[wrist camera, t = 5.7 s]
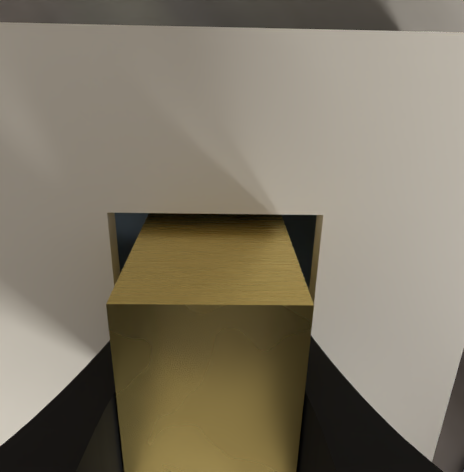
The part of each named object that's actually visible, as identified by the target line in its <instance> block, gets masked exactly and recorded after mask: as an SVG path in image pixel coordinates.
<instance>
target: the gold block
mask: <svg viewBox="0 0 464 472" xmlns="http://www.w3.org/2000/svg"><path fill="white" fill-rule="evenodd" d="M106 309H107V318H108V327H109V336H110V345H111V354H112V363H113V372H114V381H115V391H116V400H117V409H118V418H119V427H120V436H121V445H122V454H123V464H124V472H296V469H297V460H298V451H299V441H300V432H301V423H302V413H303V404H304V395H305V385H306V376H307V367H308V358H309V348H310V339H311V330H312V320H313V311H314V304H313V301H312V298H311V295H310V293H309V290H308V287H307V284H306V282H305V279H304V276H303V273H302V271H301V268H300V265H299V262H298V259H297V257H296V254H295V251H294V248H293V246H292V243H291V240H290V237H289V235H288V232H287V229H286V226H285V224H284V221H283V218H282V215H279V214H191V213H149V214H148V216H147V218H146V220H145V222H144V224H143V227H142V229H141V231H140V233H139V235H138V237H137V239H136V241H135V244H134V246H133V248H132V250H131V252H130V254H129V256H128V258H127V261H126V263H125V265H124V267H123V269H122V271H121V273H120V275H119V278H118V280H117V282H116V284H115V286H114V288H113V290H112V292H111V295H110V297H109V299H108V301H107V303H106Z"/></svg>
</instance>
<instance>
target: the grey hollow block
mask: <svg viewBox="0 0 464 472" xmlns="http://www.w3.org/2000/svg"><path fill="white" fill-rule="evenodd" d="M149 213H191V214H279V215H282V218H283V221H284V224H285V226H286V229H287V232H288V235H289V237H290V240H291V243H292V246H293V248H294V251H295V254H296V257H297V259H298V262H299V265H300V268H301V271H302V273H303V276H304V279H305V282H306V284H307V287H308V290H309V293H310V295H311V298H312V301H313V304H314V311H313V320H312V330H311V336H312V337H313V338H314V340H315V341H316V342H317V344H318V345H319V346H320V347H321V349H322V350H323V351H324V352H325V354H326V355H327V356H328V357H329V359H330V360H331V361H332V362H333V364H334V365H335V366H336V367H337V368H338V370H339V371H340V372H341V373H342V374H343V375H344V377H345V378H346V379H347V380H348V381H349V382H350V383H351V384H352V386H353V387H354V388H355V389H356V390H357V391H358V392H359V393H360V395H361V396H362V397H363V398H364V399H365V400H366V401H367V402H368V403H369V404H370V405H371V406H372V407H373V408H374V409H375V410H376V411H377V412H378V413H379V414H380V415H381V416H382V417H383V418H384V419H385V420H386V421H387V422H388V424H390V425H391V426H392V427H393V428H394V429H395V430H396V431H397V432H398V433H399V434H400V435H401V436H402V437H403V438H404V439H406V440H407V441H408V442H409V443H410V444H411V445H412V446H414V447H415V448H416V449H417V450H418V451H419V452H420V453H422V454H423V455H424V456H425V457H426V458H427V459H429V460H430V461H431V462H432V460H433V457H434V453H435V450H436V446H437V442H438V439H439V435H440V432H441V428H442V424H443V421H444V417H445V414H446V410H447V406H448V403H449V399H450V395H451V392H452V388H453V385H454V381H455V377H456V374H457V370H458V367H459V363H460V359H461V356H462V352H463V349H464V32H422V31H376V30H331V29H285V28H239V27H194V26H148V25H103V24H57V23H11V22H0V446H1V445H2V444H3V443H5V442H6V441H7V440H8V439H9V438H11V437H12V436H13V435H14V434H15V433H16V432H18V431H19V430H20V429H21V428H22V427H23V426H25V425H26V424H27V423H28V422H29V421H30V420H31V419H32V418H33V417H35V416H36V415H37V414H38V413H39V412H40V411H41V410H42V409H43V408H44V407H45V406H46V405H47V404H48V403H50V402H51V401H52V400H53V399H54V398H55V397H56V396H57V395H58V394H59V393H60V392H61V391H62V390H63V389H64V388H65V387H66V386H67V385H68V384H69V383H70V382H71V381H72V380H73V379H74V378H75V377H76V376H77V375H78V374H79V373H80V372H81V371H82V370H83V369H84V368H85V367H86V366H87V365H88V363H89V362H90V361H91V360H92V359H93V358H94V357H95V356H96V355H97V354H98V353H99V351H100V350H101V349H102V348H103V347H104V346H105V345H106V344H107V343H108V341H109V340H110V336H109V327H108V318H107V309H106V303H107V301H108V299H109V297H110V295H111V292H112V290H113V288H114V286H115V284H116V282H117V280H118V278H119V275H120V273H121V271H122V269H123V267H124V265H125V263H126V261H127V258H128V256H129V254H130V252H131V250H132V248H133V246H134V244H135V241H136V239H137V237H138V235H139V233H140V231H141V229H142V227H143V224H144V222H145V220H146V218H147V216H148V214H149Z"/></svg>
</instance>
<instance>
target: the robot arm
mask: <svg viewBox="0 0 464 472" xmlns="http://www.w3.org/2000/svg"><path fill="white" fill-rule="evenodd" d="M0 472H124V464H123V454H122V445H121V436H120V427H119V418H118V409H117V400H116V391H115V381H114V372H113V363H112V354H111V345H110V340H109V341H108V343H107V344H106V345H105V346H104V347H103V348H102V349H101V350H100V351H99V353H98V354H97V355H96V356H95V357H94V358H93V359H92V360H91V361H90V362H89V363H88V365H87V366H86V367H85V368H84V369H83V370H82V371H81V372H80V373H79V374H78V375H77V376H76V377H75V378H74V379H73V380H72V381H71V382H70V383H69V384H68V385H67V386H66V387H65V388H64V389H63V390H62V391H61V392H60V393H59V394H58V395H57V396H56V397H55V398H54V399H53V400H52V401H51V402H50V403H48V404H47V405H46V406H45V407H44V408H43V409H42V410H41V411H40V412H39V413H38V414H37V415H36V416H35V417H33V418H32V419H31V420H30V421H29V422H28V423H27V424H26V425H25V426H23V427H22V428H21V429H20V430H19V431H18V432H16V433H15V434H14V435H13V436H12V437H11V438H9V439H8V440H7V441H6V442H5V443H3V444H2V445H1V446H0ZM296 472H443V471H442V470H441V469H439V468H438V467H437V466H436V465H434V464H433V463H432V462H431V461H430V460H429V459H427V458H426V457H425V456H424V455H423V454H422V453H420V452H419V451H418V450H417V449H416V448H415V447H414V446H412V445H411V444H410V443H409V442H408V441H407V440H406V439H404V438H403V437H402V436H401V435H400V434H399V433H398V432H397V431H396V430H395V429H394V428H393V427H392V426H391V425H390V424H388V422H387V421H386V420H385V419H384V418H383V417H382V416H381V415H380V414H379V413H378V412H377V411H376V410H375V409H374V408H373V407H372V406H371V405H370V404H369V403H368V402H367V401H366V400H365V399H364V398H363V397H362V396H361V395H360V393H359V392H358V391H357V390H356V389H355V388H354V387H353V386H352V384H351V383H350V382H349V381H348V380H347V379H346V378H345V377H344V375H343V374H342V373H341V372H340V371H339V370H338V368H337V367H336V366H335V365H334V364H333V362H332V361H331V360H330V359H329V357H328V356H327V355H326V354H325V352H324V351H323V350H322V349H321V347H320V346H319V345H318V344H317V342H316V341H315V340H314V338H313V337H312V336H311V339H310V348H309V358H308V367H307V376H306V385H305V395H304V404H303V413H302V423H301V432H300V441H299V451H298V460H297V469H296ZM463 472H464V470H463Z"/></svg>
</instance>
